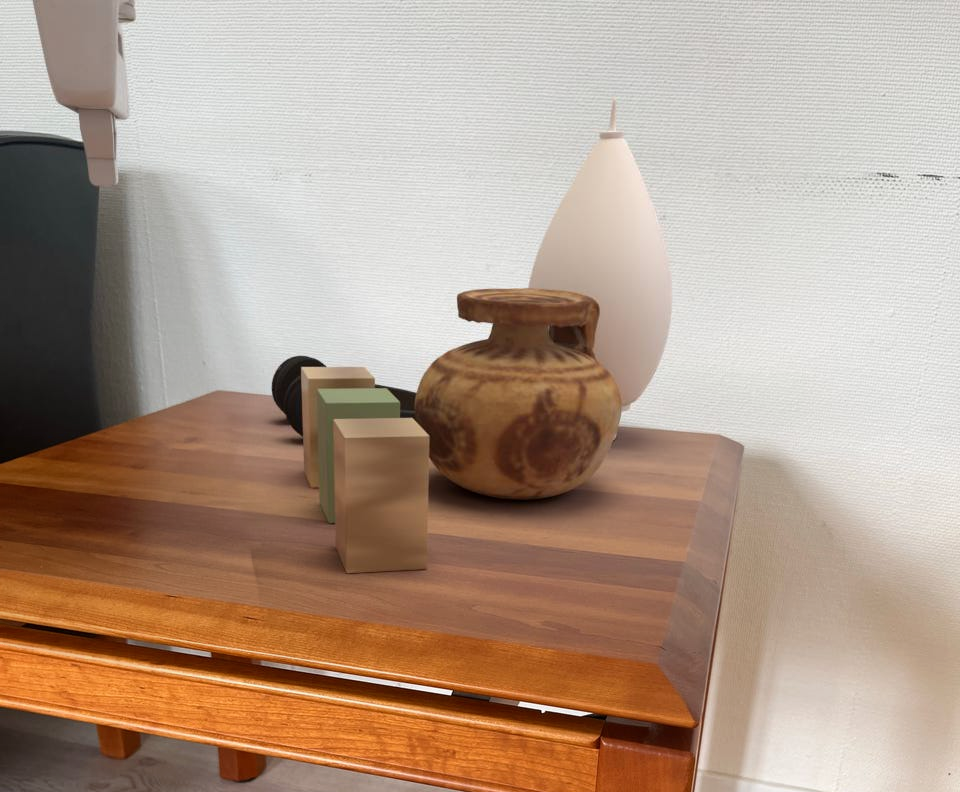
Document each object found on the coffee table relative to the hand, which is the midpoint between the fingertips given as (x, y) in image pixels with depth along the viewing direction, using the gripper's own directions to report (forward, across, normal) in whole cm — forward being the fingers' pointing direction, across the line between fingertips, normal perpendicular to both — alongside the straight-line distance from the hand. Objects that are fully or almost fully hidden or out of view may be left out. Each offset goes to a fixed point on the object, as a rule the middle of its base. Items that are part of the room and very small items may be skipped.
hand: (104, 186), depth 73 cm
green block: (+25, 0, +18) cm, 31 cm away
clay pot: (+25, -6, +34) cm, 43 cm away
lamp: (+26, -26, +49) cm, 61 cm away
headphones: (+25, -32, +24) cm, 48 cm away
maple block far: (+25, -11, +18) cm, 33 cm away
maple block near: (+25, +12, +18) cm, 33 cm away
